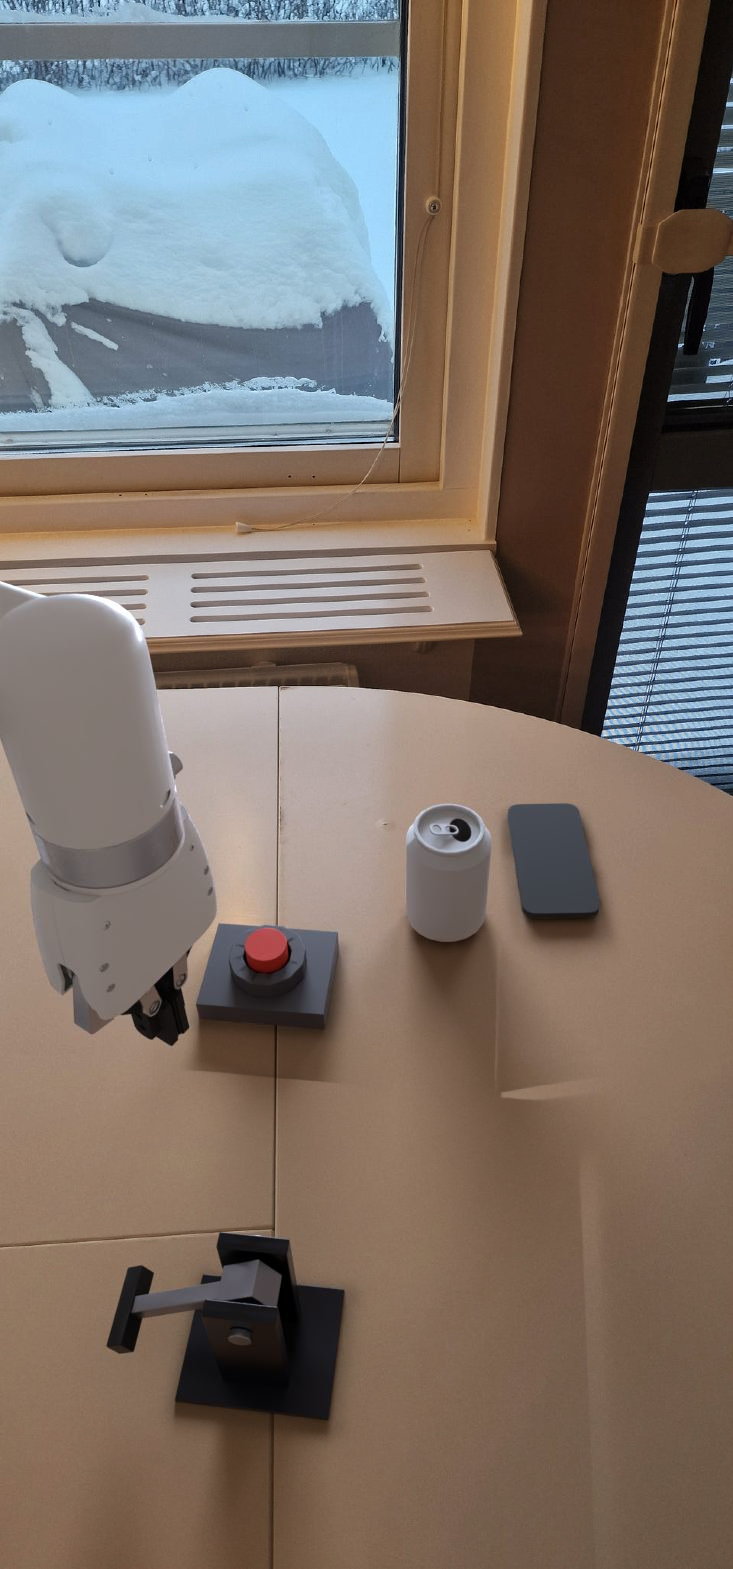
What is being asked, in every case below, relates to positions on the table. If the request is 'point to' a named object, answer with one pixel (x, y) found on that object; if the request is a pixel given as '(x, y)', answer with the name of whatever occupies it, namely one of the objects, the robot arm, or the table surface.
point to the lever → (187, 1297)
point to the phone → (552, 861)
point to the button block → (269, 979)
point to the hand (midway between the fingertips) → (163, 1026)
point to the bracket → (264, 1341)
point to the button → (266, 950)
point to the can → (447, 872)
